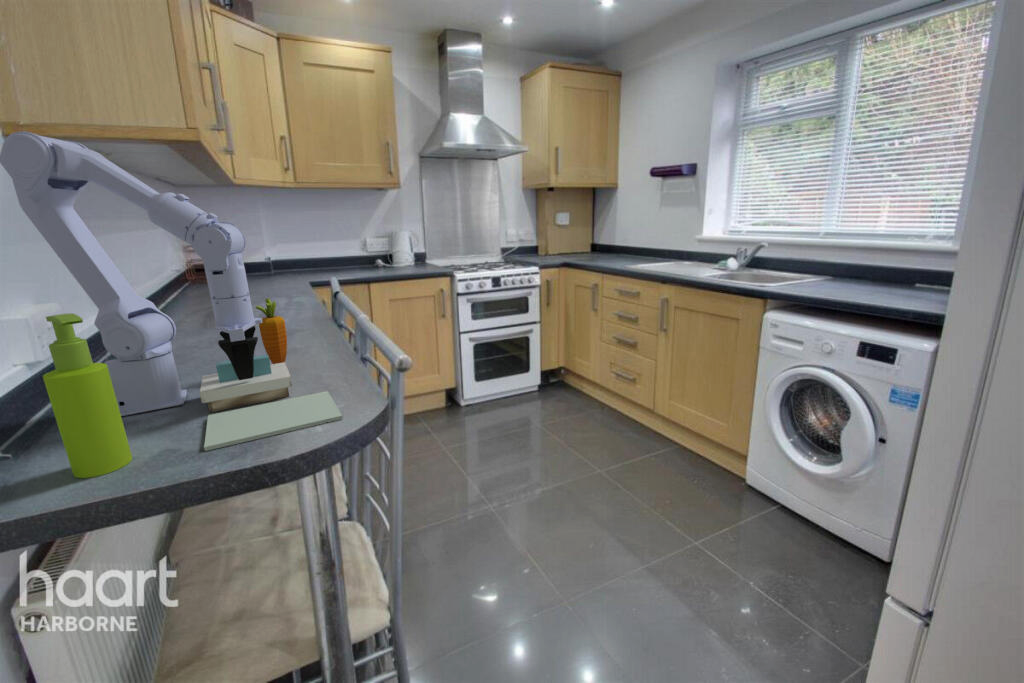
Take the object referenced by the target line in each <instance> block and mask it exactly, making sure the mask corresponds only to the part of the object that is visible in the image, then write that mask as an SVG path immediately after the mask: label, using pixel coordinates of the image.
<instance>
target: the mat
mask: <svg viewBox="0 0 1024 683" xmlns="http://www.w3.org/2000/svg"><path fill="white" fill-rule="evenodd" d="M341 420H343V415H342V413H341V411H340V410H339V408H338V406H337V405H336V403H335V401H334V399H333V398H332V396H331V394H330V392H329V391H328V390H326V391H321V392H316V393H311V394H307V395H301V396H297V397H291V398H287V399H286V398H285V399H280V400H277V401H272V402H267V403H261V404H257V405H256V404H255V405H252V406H248V407H242V408H237V409H233V410H227V411H223V412H216V413H211V414H208V415H207V420H206V429H205V437H204V445H203V450H204V452H207V451H212V450H215V449H216V450H217V449H220V448H221V449H222V448H225V447H228V446H233V445H237V444H243V443H246V442H250V441H256V440H258V439H259V440H260V439H263V438H268V437H272V436H276V435H277V436H278V435H280V434H284V433H289V431H290V432H293V431H298V430H302V428H303V429H306V427H307V428H310V427H315V425H316V426H319V424H320V425H324V424H327V423H326V422H328V423H331V422H332V421H333V422H336V421H341ZM323 423H324V424H323Z"/></svg>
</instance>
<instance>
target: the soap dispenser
mask: <svg viewBox="0 0 1024 683" xmlns="http://www.w3.org/2000/svg"><path fill="white" fill-rule="evenodd" d="M45 319H46V322H50V323H51V324H52V328H53V331H54V335H55V337H56V340H54V341H53V342H52V343H49V345H48V347H49V352H50V354H51V358H52V361H53V365H54V369H53V370H51V371H48V372H46V373H44V374H43V375H42V378H43V382H44V386H45V389H46V392H47V395H48V398H49V402H50V404H51V407H52V408H51V409H52V411H53V415H54V418H55V421H56V424H57V427H58V431H59V433H60V434H59V435H60V437H61V440H62V442H63V446H64V449H65V452H66V456H67V459H68V462H69V465H70V468H71V472H72V475H73V477H75V478H79V479H90V478H94V477H95V478H96V477H100V476H103V475H107V474H110V473H113V472H114V471H115V472H116V471H117V470H120V469H123V468H124V467H125V466H127V465H129V464H130V463H131V462H132V460H133V455H132V452H131V447H130V445H129V440H128V438H127V433H126V429H125V426H124V421H123V419H122V416H121V414H120V411H119V407H118V403H117V400H116V396H115V392H114V389H113V385H112V381H111V378H110V374H109V370H108V367H107V364H105V362H104V363H103V362H93V359H92V354H91V352H90V348H89V345H88V344H89V343H88V341H87V339H85V338H81V337H77V336H76V332H75V330H74V326H73V325H75V324H76V325H77V324H81V323H83V321H84V319H83V318H82V317H80V315H77V314H76V313H63V314H62V313H61V314H54V315H48V316H45Z"/></svg>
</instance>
